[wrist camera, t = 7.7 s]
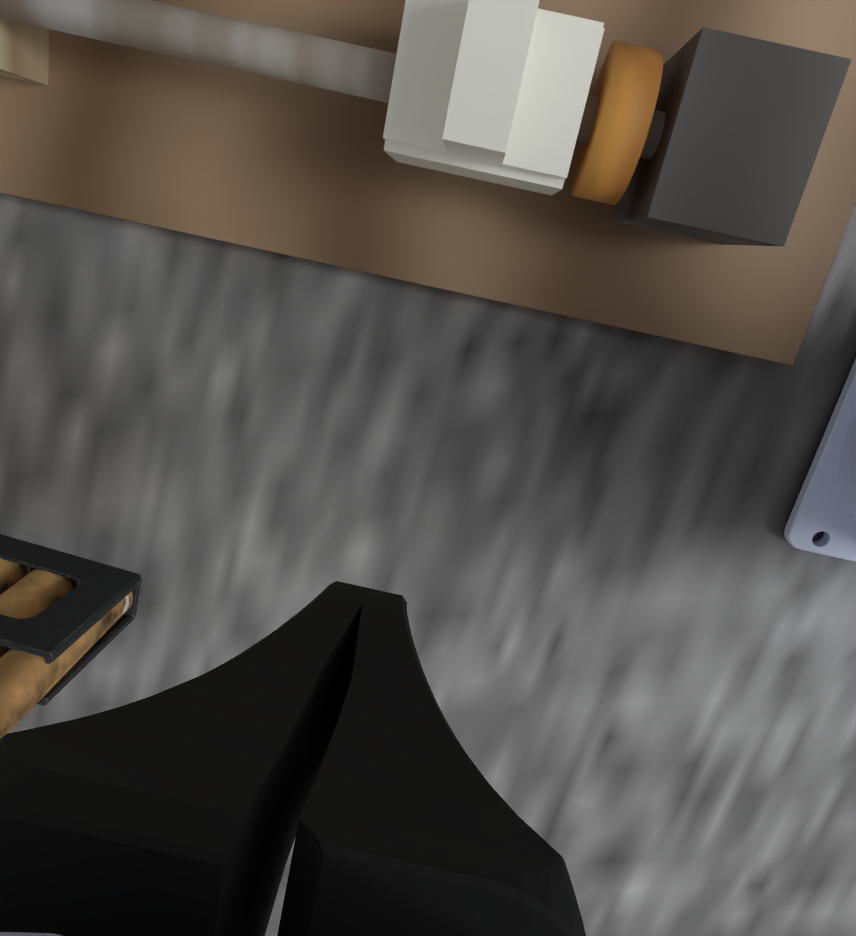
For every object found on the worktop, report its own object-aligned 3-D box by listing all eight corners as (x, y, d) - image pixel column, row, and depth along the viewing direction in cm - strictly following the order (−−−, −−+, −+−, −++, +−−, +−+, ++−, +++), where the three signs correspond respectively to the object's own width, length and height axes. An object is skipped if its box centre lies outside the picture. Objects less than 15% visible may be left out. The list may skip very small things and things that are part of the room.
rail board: (909, 13, 17) (1074, -73, 12) (778, 359, 20) (870, 397, 15) (-12, -186, 17) (-201, -348, 13) (-9, 187, 20) (-161, 172, 16)
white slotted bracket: (586, 53, 16) (628, -20, 12) (551, 195, 17) (576, 180, 13) (421, 17, 16) (398, -69, 12) (396, 161, 17) (366, 134, 13)
